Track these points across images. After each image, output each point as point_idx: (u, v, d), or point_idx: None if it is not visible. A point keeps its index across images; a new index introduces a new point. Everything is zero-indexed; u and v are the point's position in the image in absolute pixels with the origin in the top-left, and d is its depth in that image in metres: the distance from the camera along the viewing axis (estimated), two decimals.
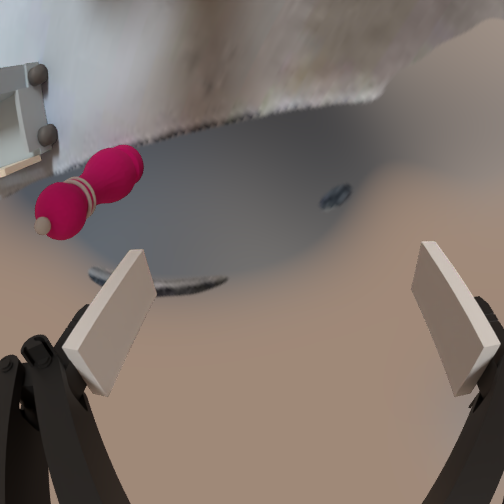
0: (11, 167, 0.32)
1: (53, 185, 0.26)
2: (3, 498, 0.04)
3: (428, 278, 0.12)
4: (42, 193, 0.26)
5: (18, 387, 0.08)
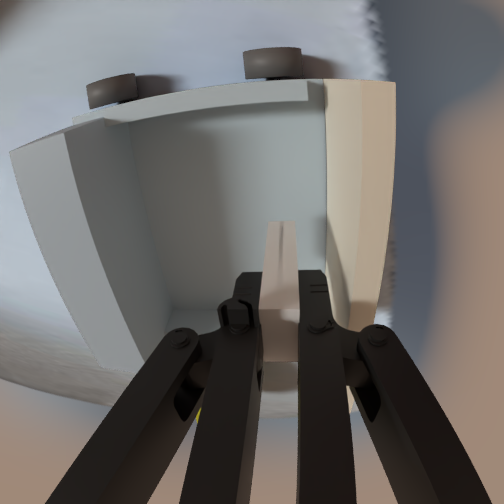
0: None
1: None
2: (100, 491, 0.05)
3: None
4: None
5: (184, 372, 0.09)
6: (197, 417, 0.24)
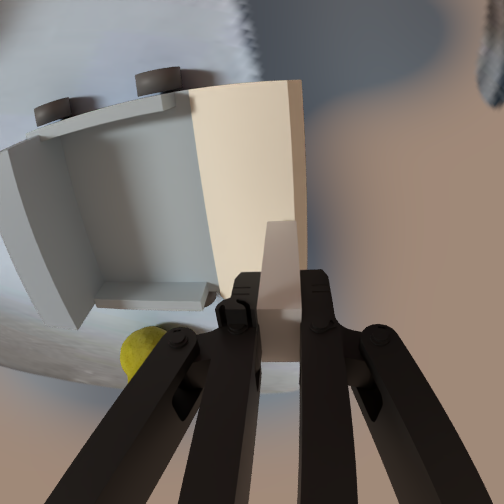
0: (267, 81, 0.13)
1: None
2: (99, 491, 0.05)
3: None
4: None
5: (183, 372, 0.09)
6: (128, 378, 0.28)
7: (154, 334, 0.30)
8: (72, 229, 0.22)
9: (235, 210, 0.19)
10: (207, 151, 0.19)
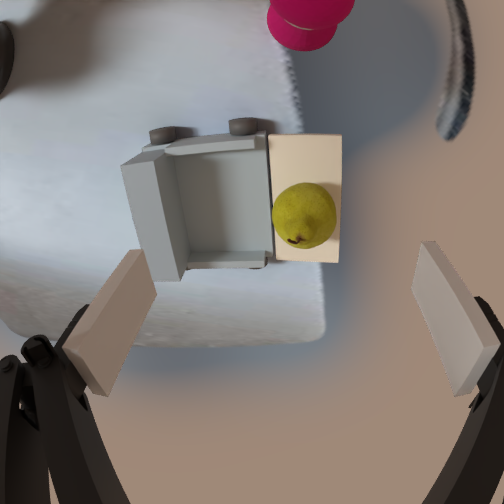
0: (328, 135, 0.32)
1: None
2: (3, 498, 0.04)
3: (428, 278, 0.12)
4: None
5: (18, 387, 0.08)
6: (288, 223, 0.30)
7: (316, 184, 0.32)
8: (179, 214, 0.38)
9: None
10: (281, 170, 0.35)
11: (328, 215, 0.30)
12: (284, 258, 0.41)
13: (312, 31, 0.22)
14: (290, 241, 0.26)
